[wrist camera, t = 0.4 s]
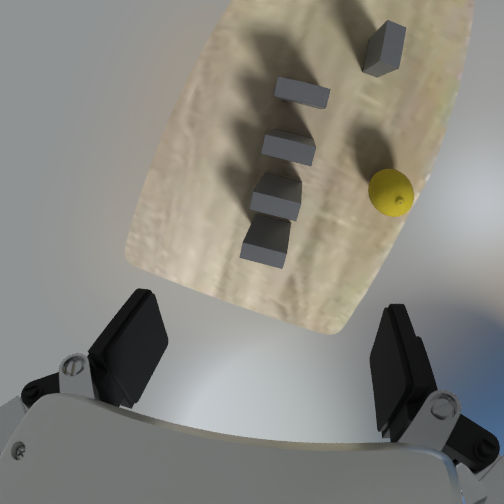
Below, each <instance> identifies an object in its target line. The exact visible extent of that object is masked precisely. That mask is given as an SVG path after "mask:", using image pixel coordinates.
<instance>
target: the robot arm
mask: <svg viewBox="0 0 504 504" xmlns="http://www.w3.org/2000/svg"><path fill="white" fill-rule="evenodd" d="M167 346H168V337H167V333H166V330H165V327H164V324H163V320H162V317H161V314H160V311H159V307H158V304H157V300H156V297H155V294H153V293H152V292H151V290H148V289H140V288H139V289H137V290H135V292H134V293H133V294H132V295H131V296H130V298H129V299H128V300H127V301H126V303H125V304H124V305H123V306H122V308H121V309H120V310H119V311H118V313H117V314H116V315H115V316H114V318H113V319H112V320H111V322H110V323H109V324H108V325H107V327H106V328H105V329H104V331H103V332H102V333H101V335H100V336H99V337H98V338H97V340H96V341H95V342H94V344H93V345H92V347H91V348H90V349H89V351H88V352H89V355H88V356H87V357H86V356H85V355H83V354H79V353H76V354H72V355H70V356H68V357H66V358H65V359H64V360H63V361H62V363H61V365H60V368H59V372H58V373H55V374H52V375H49V376H46V377H43V378H41V379H37V380H34V381H32V382H30V383H28V384H27V385H26V386H25V387H24V388H23V390H22V393H21V398H20V397H19V396H16V397H15V398H13V399H12V400H10V401H9V402H7V403H6V404H4V405H3V406H1V407H0V504H463V502H462V496H463V497H464V499H465V501H466V504H504V455H503V456H502V457H501V456H500V454H499V450H500V446H499V442H498V440H497V438H496V437H495V436H494V435H493V434H492V433H490V432H488V431H487V430H485V429H484V428H482V427H481V426H479V425H478V424H476V423H474V422H473V421H471V420H470V419H468V418H467V417H465V416H463V415H462V414H460V413H461V404H460V401H459V399H458V398H457V396H456V395H454V394H453V393H452V392H449V391H447V390H438V389H437V386H436V382H435V379H434V375H433V372H432V369H431V365H430V362H429V359H428V356H427V353H426V351H425V347H424V344H423V342H422V339H421V338H420V337H419V336H418V337H416V335H415V333H414V330H413V327H412V324H411V321H410V318H409V316H408V313H407V310H406V308H405V305H404V304H390V305H389V307H388V308H384V311H383V315H382V318H381V322H380V325H379V328H378V332H377V335H376V338H375V342H374V345H373V348H372V351H371V355H370V368H371V375H372V383H373V390H374V399H375V408H376V419H377V429H378V431H379V432H380V431H382V438H390V439H391V442H385V443H303V442H287V441H275V440H265V439H256V438H248V437H241V436H234V435H228V434H221V433H216V432H211V431H206V430H201V429H196V428H192V427H187V426H182V425H178V424H174V423H170V422H166V421H163V420H159V419H155V418H151V417H148V416H145V415H141V414H138V413H135V412H132V411H129V410H125V409H122V408H119V406H120V404H121V405H122V406H125V407H128V408H132V407H133V405H134V403H137V402H138V401H139V399H140V397H141V395H142V393H143V391H144V389H145V387H146V385H147V383H148V382H149V380H150V378H151V376H152V374H153V372H154V370H155V368H156V366H157V365H158V363H159V361H160V359H161V357H162V355H163V353H164V351H165V350H166V348H167ZM461 490H462V492H461Z"/></svg>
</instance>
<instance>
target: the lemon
mask: <svg viewBox="0 0 504 504" xmlns="http://www.w3.org/2000/svg"><path fill="white" fill-rule="evenodd" d="M368 192H369V197H370V200H371V202H372V204H373V205H374V207H375V208H376V209H377V210H378V211H379V212H381V213H383V214H385V215H387V216H391V217H396V216H401V215H403V214H405V213H406V212H407V211H408V210H409V209H410V208H411V206H412V204H413V200H414V192H413V187H412V185H411V183H410V181H409V180H408V178H407V177H406V176H405V175H404V174H402V173H401V172H399V171H397V170H394V169H383V170H381V171H378V172H377V173H376V174H375V175H374V176H373V177H372V178H371V180H370V183H369V188H368Z"/></svg>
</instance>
